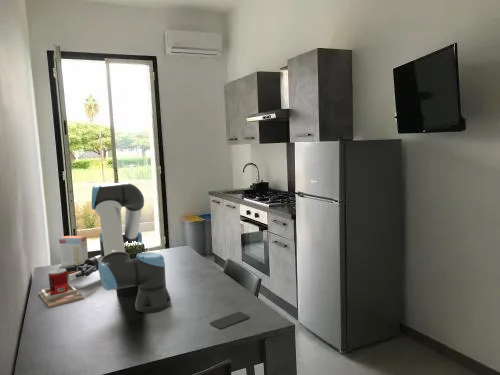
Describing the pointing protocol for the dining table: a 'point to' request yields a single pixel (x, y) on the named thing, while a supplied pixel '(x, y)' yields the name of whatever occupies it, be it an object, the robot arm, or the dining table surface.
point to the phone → (229, 320)
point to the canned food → (58, 281)
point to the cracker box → (73, 250)
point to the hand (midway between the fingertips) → (59, 276)
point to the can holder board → (60, 296)
